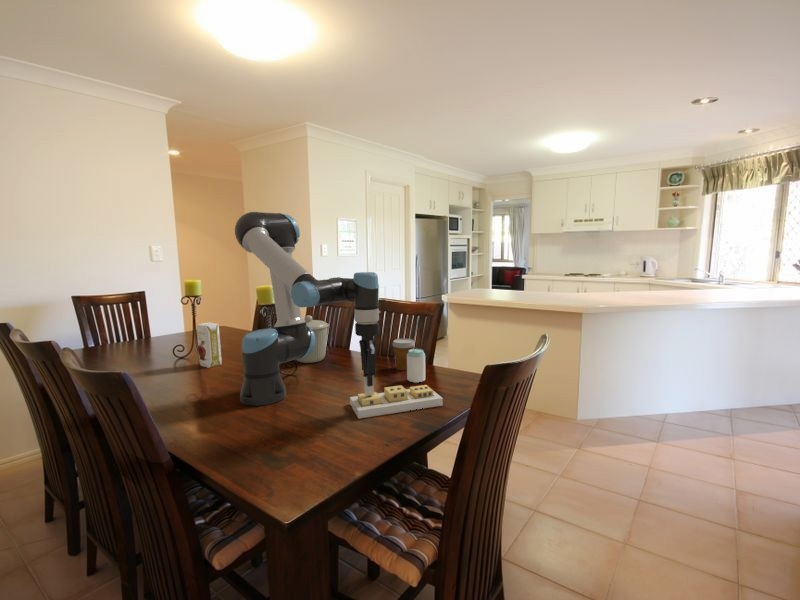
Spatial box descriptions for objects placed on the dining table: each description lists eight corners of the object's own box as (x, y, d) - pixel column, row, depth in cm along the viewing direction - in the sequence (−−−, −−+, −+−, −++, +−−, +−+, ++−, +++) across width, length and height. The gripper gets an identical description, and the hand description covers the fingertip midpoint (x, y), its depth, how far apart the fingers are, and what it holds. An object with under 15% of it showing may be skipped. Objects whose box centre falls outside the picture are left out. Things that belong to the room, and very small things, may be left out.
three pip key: (416, 403, 131) (416, 392, 130) (409, 396, 136) (409, 386, 136) (433, 400, 132) (433, 390, 132) (426, 394, 138) (426, 384, 138)
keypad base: (358, 418, 122) (358, 410, 121) (350, 404, 133) (349, 397, 132) (442, 405, 131) (442, 398, 130) (428, 393, 142) (428, 386, 142)
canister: (293, 356, 194) (291, 313, 191) (331, 354, 196) (329, 311, 193) (287, 366, 176) (284, 319, 174) (328, 365, 178) (327, 318, 175)
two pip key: (390, 404, 128) (390, 393, 127) (384, 397, 133) (384, 387, 133) (407, 401, 129) (407, 390, 129) (401, 395, 135) (401, 384, 135)
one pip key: (362, 411, 125) (362, 400, 124) (358, 404, 131) (357, 393, 130) (381, 408, 127) (381, 397, 126) (375, 401, 132) (375, 391, 132)
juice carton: (213, 361, 186) (210, 321, 184) (224, 364, 181) (221, 323, 179) (197, 365, 180) (194, 324, 178) (207, 369, 175) (204, 326, 173)
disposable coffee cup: (419, 367, 173) (418, 339, 171) (407, 373, 165) (407, 344, 163) (400, 363, 178) (400, 337, 177) (388, 369, 170) (387, 341, 169)
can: (424, 384, 151) (423, 353, 150) (405, 383, 153) (405, 352, 151) (426, 378, 158) (426, 348, 156) (409, 377, 159) (408, 347, 158)
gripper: (384, 324, 120) (386, 400, 123) (373, 317, 132) (375, 386, 135) (360, 326, 118) (362, 403, 121) (350, 319, 130) (353, 389, 133)
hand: (369, 394), depth 128 cm, fingers closed
